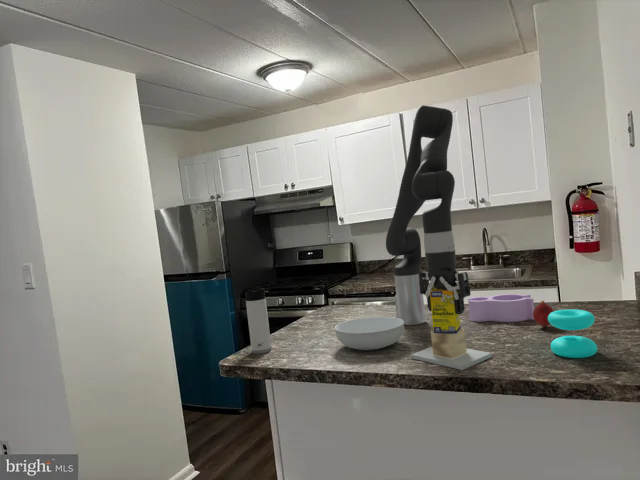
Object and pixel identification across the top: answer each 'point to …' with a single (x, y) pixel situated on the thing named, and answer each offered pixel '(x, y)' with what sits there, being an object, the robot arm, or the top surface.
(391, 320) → the serving bowl
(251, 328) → the travel mug
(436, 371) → the top surface
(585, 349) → the donuts
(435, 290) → the supplement box
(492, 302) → the purple cup holder
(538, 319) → the onion
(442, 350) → the block
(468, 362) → the board
